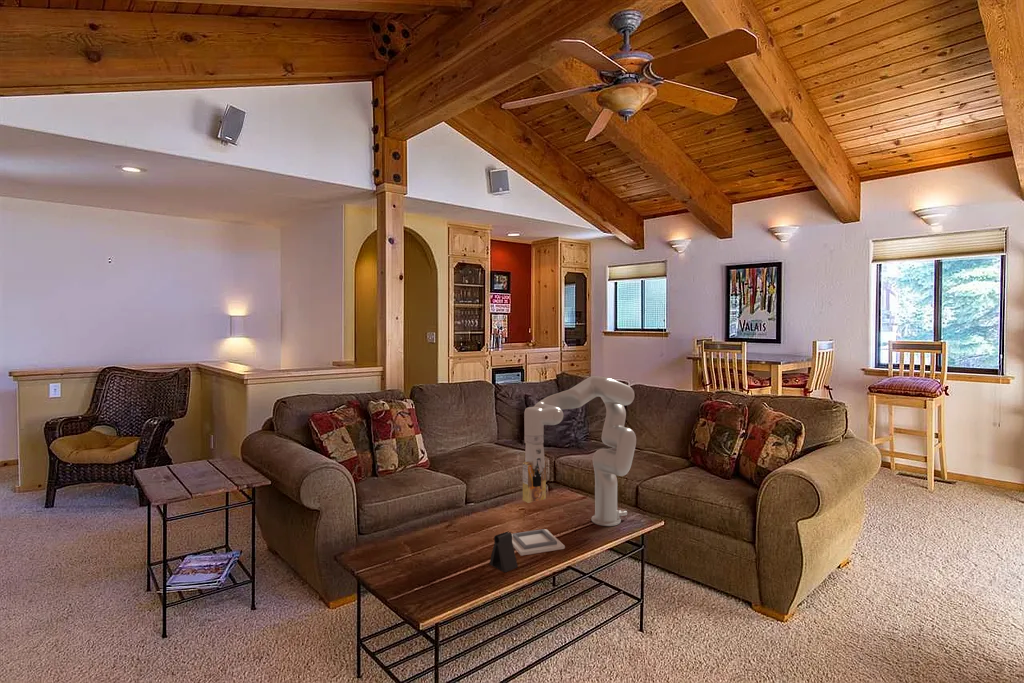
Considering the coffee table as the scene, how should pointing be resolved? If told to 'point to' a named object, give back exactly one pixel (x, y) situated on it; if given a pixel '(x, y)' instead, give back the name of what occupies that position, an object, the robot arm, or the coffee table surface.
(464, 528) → the coffee table surface
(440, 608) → the coffee table surface
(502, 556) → the phone stand
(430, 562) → the coffee table surface
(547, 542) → the tile
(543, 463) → the robot arm
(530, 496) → the candy box
